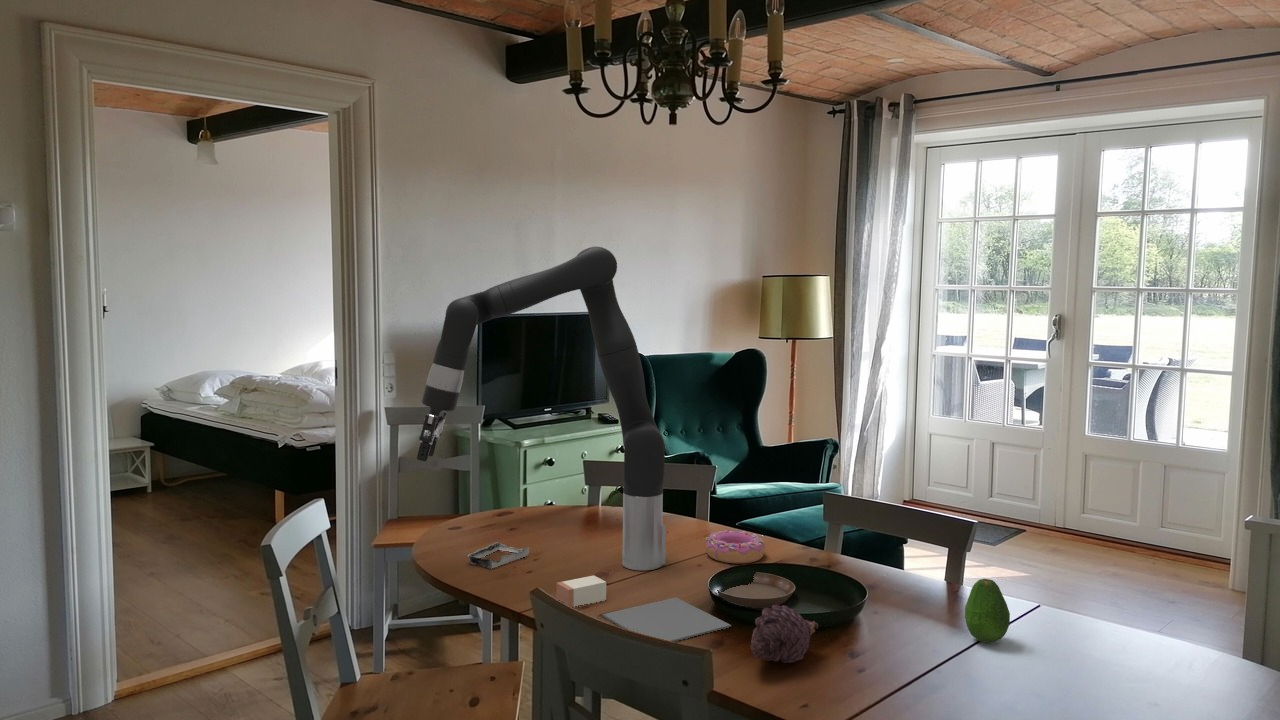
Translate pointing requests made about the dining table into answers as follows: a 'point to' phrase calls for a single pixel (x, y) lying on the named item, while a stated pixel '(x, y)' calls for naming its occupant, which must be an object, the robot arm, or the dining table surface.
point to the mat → (667, 620)
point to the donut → (735, 546)
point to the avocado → (987, 612)
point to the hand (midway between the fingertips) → (424, 457)
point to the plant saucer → (760, 591)
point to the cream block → (581, 591)
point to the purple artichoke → (781, 635)
